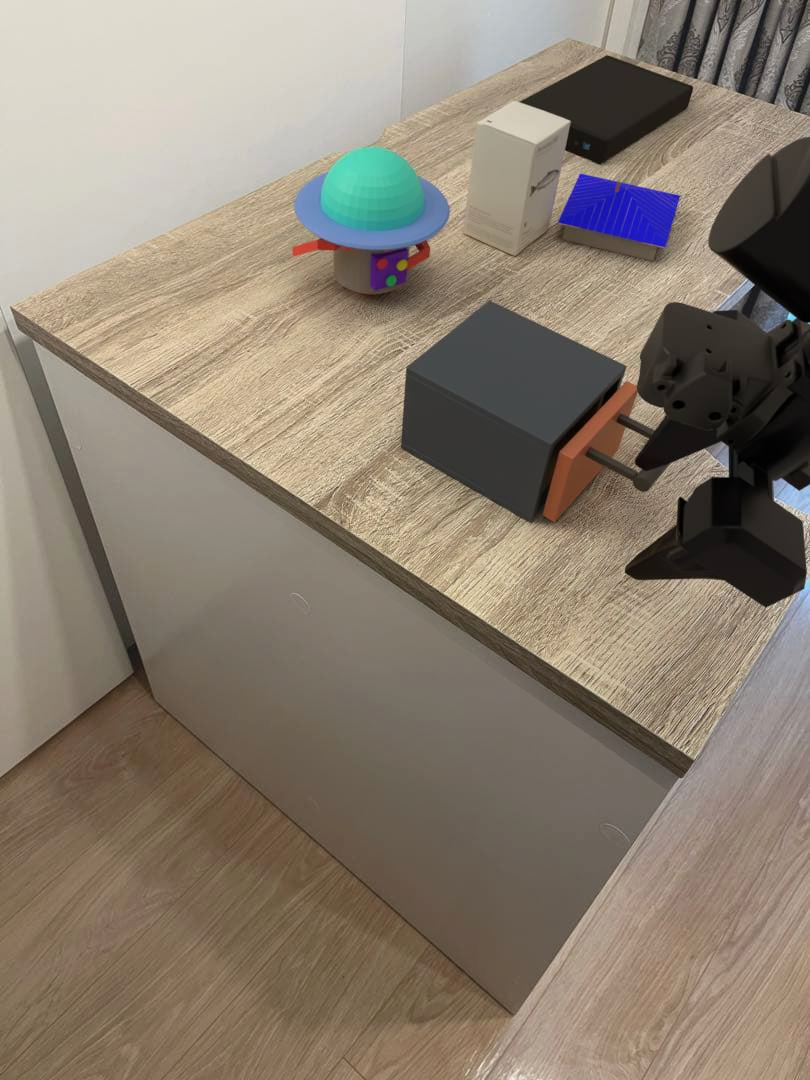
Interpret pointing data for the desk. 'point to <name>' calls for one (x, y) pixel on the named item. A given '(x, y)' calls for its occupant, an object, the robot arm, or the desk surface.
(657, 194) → the roof
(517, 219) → the white packaging box
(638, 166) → the desk surface
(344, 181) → the toy robot
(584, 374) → the cabinet
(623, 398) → the drawer
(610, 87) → the external hard drive
